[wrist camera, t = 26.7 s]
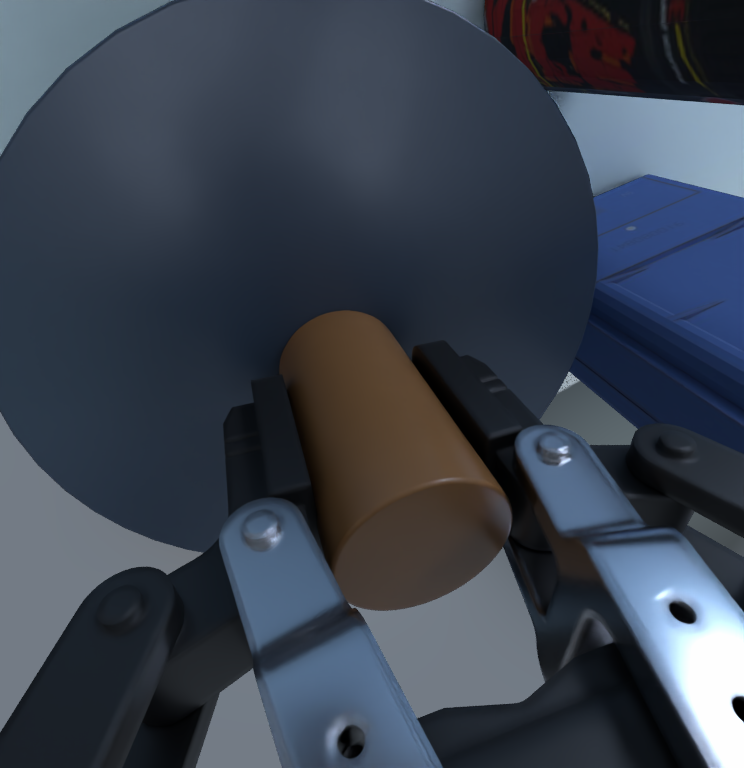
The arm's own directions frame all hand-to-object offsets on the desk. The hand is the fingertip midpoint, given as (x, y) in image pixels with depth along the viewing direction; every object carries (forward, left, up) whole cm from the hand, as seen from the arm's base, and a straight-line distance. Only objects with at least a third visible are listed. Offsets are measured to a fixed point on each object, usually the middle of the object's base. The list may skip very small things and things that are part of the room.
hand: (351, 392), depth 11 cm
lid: (0, 0, -2) cm, 2 cm away
